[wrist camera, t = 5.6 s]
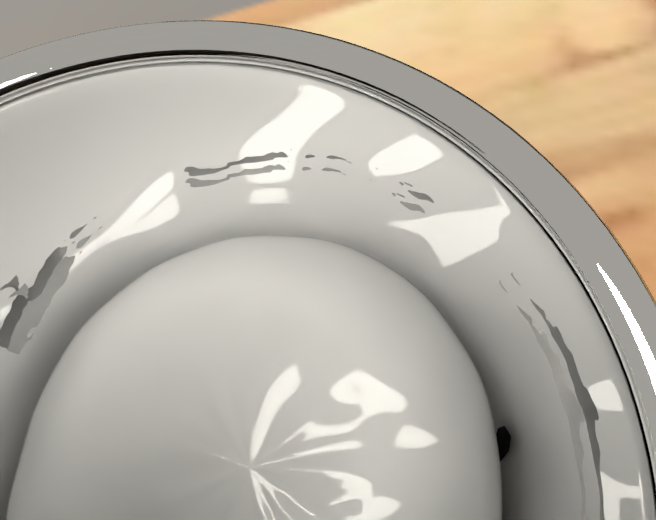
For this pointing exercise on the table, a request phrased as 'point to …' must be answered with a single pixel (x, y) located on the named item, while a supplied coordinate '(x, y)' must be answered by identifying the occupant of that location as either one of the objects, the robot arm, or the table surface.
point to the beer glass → (301, 294)
